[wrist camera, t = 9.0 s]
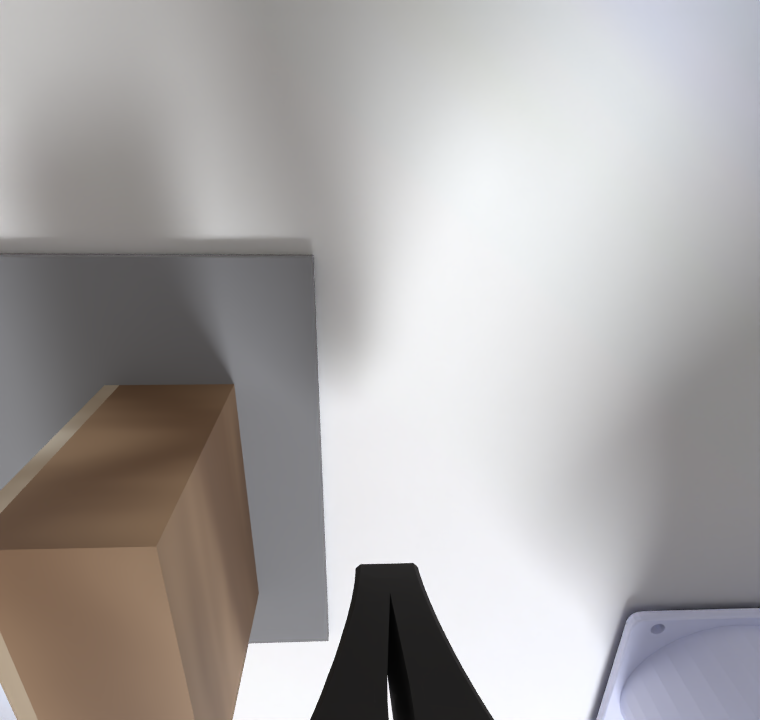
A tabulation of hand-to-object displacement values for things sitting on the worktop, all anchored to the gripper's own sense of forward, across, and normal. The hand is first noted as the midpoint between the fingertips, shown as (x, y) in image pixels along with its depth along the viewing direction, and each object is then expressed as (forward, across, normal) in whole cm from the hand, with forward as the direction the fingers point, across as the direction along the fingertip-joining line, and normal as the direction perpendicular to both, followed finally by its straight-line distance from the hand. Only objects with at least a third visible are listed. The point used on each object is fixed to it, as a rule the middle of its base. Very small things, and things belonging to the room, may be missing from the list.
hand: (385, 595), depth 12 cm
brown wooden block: (+4, +6, +1) cm, 7 cm away
